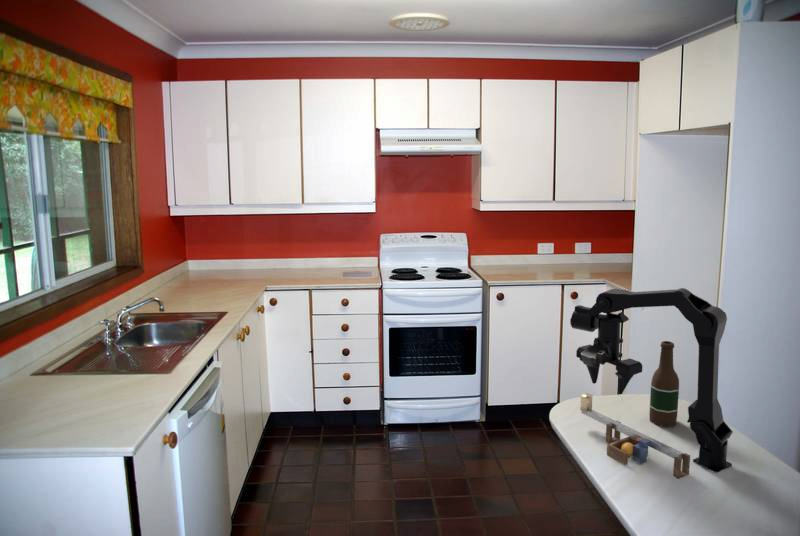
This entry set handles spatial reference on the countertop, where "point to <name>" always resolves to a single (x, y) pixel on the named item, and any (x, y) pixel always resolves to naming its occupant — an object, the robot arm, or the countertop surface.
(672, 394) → the beer bottle
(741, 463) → the countertop surface
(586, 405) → the rod
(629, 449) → the ball
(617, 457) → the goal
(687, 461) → the block
